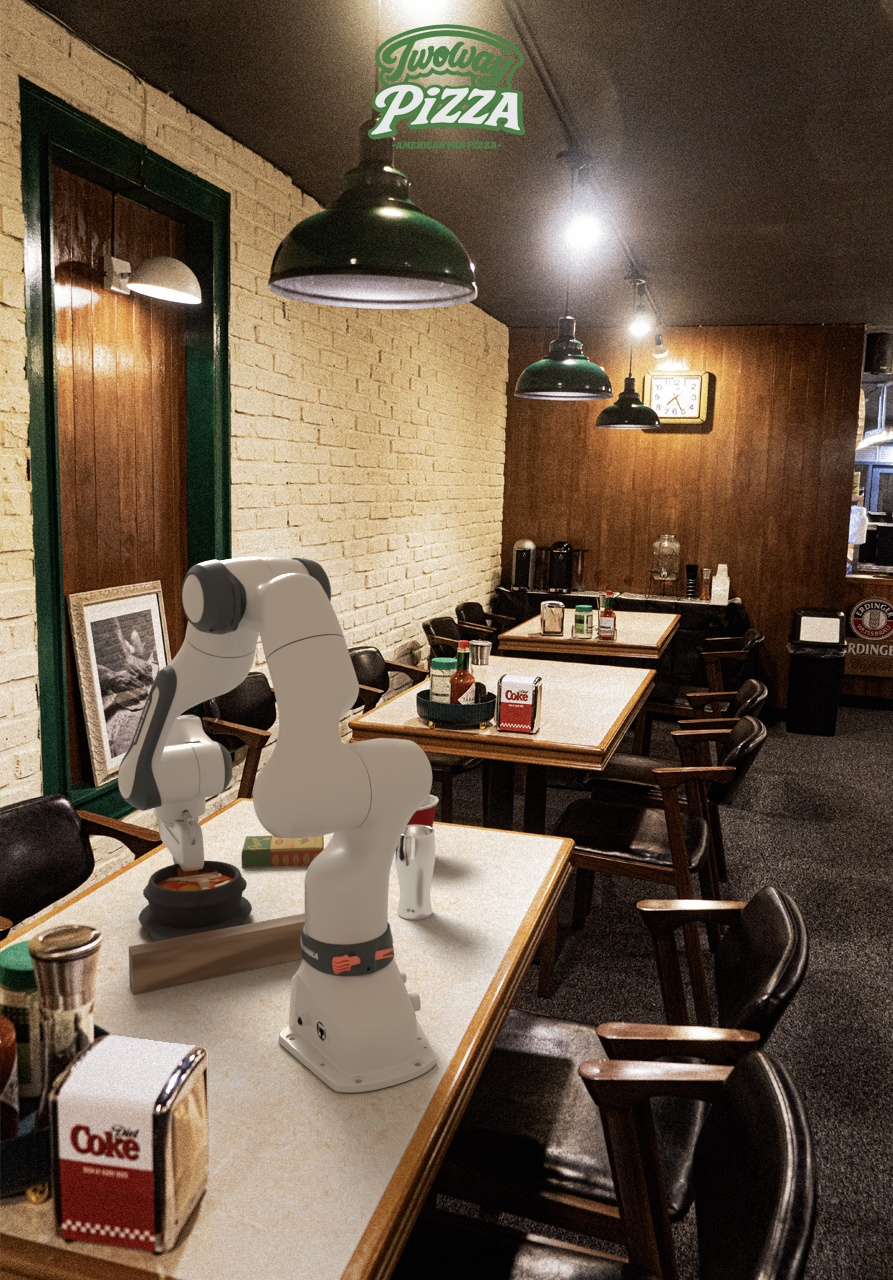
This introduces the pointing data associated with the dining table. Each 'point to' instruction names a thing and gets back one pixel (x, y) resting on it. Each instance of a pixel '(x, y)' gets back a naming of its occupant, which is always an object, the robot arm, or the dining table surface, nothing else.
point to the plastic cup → (425, 812)
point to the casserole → (194, 900)
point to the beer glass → (415, 871)
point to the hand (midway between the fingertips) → (181, 878)
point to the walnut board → (214, 953)
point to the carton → (280, 851)
